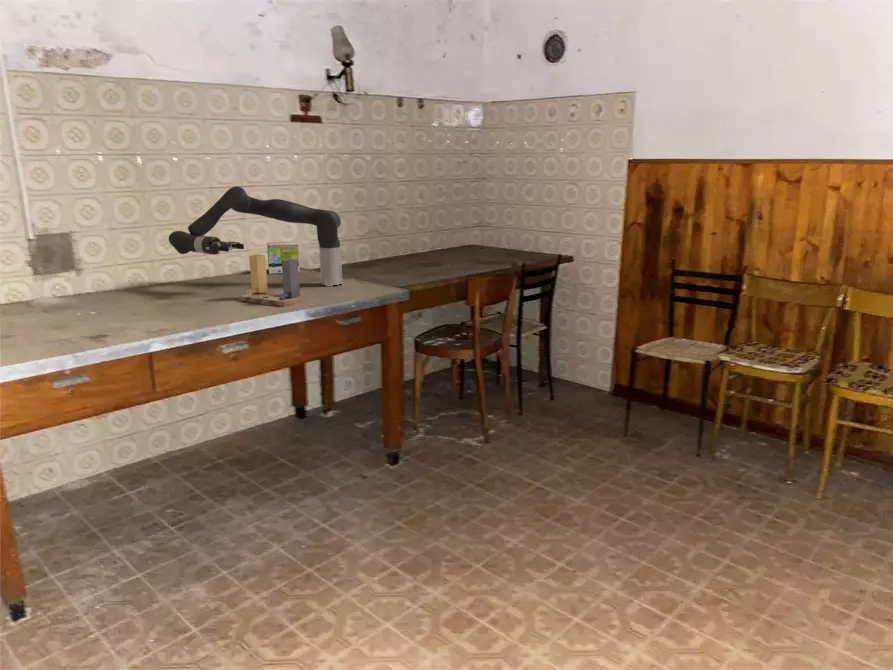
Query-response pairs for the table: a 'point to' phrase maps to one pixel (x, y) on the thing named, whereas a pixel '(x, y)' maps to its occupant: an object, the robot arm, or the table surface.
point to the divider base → (269, 302)
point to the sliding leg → (258, 274)
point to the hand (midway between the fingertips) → (236, 247)
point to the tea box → (281, 255)
